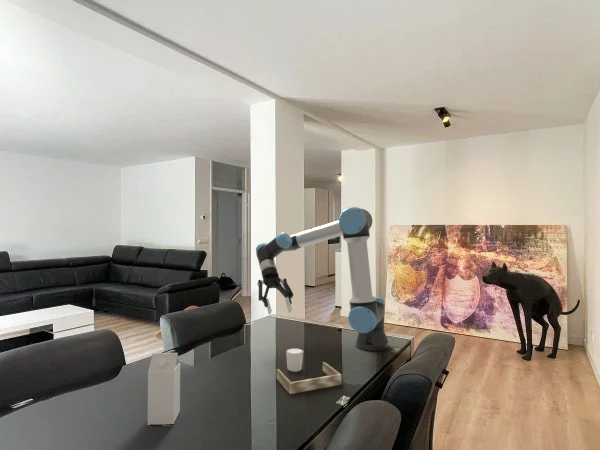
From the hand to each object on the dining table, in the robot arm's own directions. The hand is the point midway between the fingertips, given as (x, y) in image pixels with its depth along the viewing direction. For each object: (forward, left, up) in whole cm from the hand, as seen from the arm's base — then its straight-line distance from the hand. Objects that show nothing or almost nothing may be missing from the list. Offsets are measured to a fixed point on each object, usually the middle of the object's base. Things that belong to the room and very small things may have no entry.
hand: (280, 311), depth 158 cm
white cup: (0, +17, -19) cm, 25 cm away
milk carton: (+49, +38, -19) cm, 65 cm away
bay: (0, +30, -19) cm, 35 cm away
